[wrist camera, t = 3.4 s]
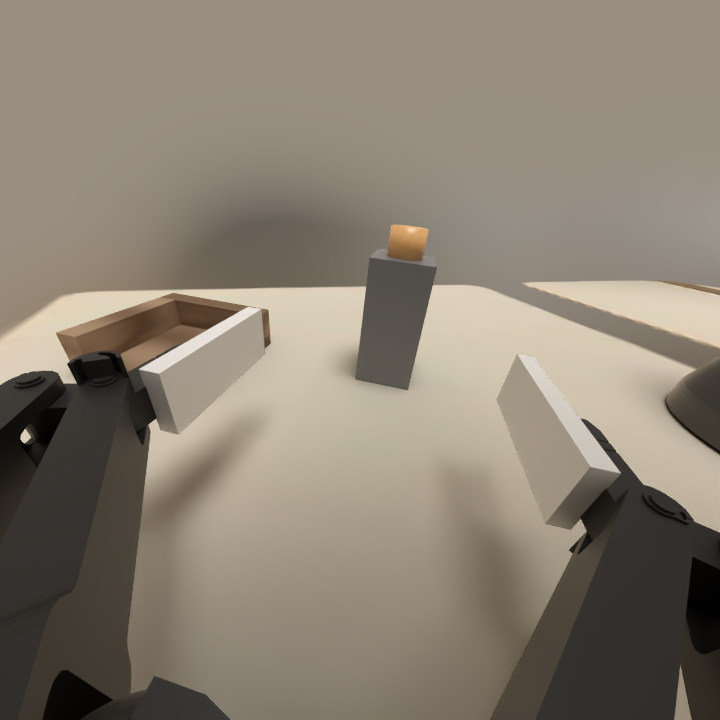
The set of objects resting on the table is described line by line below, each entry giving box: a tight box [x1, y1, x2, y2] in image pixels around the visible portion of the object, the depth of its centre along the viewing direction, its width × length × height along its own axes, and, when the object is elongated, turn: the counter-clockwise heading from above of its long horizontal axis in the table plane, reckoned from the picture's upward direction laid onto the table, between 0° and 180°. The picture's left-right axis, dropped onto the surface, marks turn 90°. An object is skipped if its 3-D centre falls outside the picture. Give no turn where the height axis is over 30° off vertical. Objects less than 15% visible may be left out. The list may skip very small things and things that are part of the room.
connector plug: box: [356, 225, 437, 390], centre depth 22 cm, size 4×4×12 cm
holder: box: [56, 293, 271, 372], centre depth 23 cm, size 10×10×4 cm
